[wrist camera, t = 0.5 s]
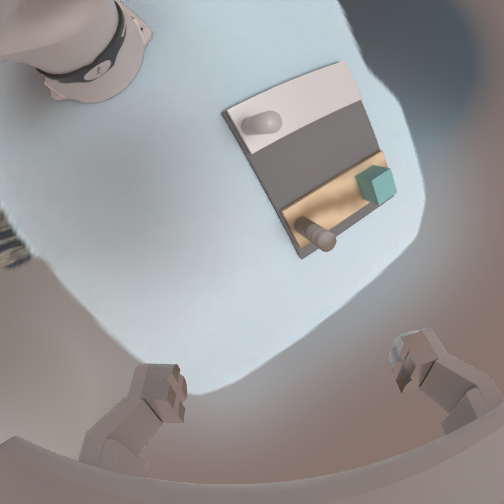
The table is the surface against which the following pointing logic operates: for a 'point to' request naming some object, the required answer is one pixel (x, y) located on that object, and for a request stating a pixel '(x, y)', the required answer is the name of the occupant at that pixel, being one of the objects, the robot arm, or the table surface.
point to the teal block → (376, 184)
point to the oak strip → (328, 206)
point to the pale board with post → (293, 105)
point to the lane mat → (313, 161)
